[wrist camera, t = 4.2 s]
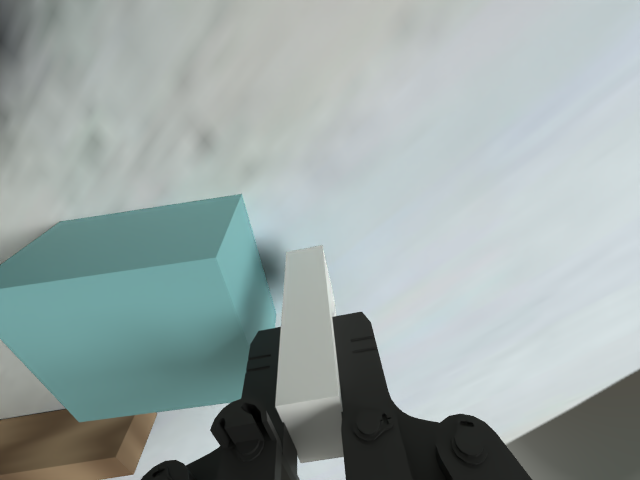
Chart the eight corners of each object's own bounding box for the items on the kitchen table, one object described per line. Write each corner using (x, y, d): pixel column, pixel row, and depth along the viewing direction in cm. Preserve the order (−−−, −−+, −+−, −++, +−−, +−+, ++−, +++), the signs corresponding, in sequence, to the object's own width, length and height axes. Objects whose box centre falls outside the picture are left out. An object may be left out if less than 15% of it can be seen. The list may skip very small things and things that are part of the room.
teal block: (242, 192, 14) (215, 257, 10) (276, 311, 17) (268, 397, 13) (62, 219, 14) (-42, 295, 10) (132, 331, 18) (79, 422, 13)
